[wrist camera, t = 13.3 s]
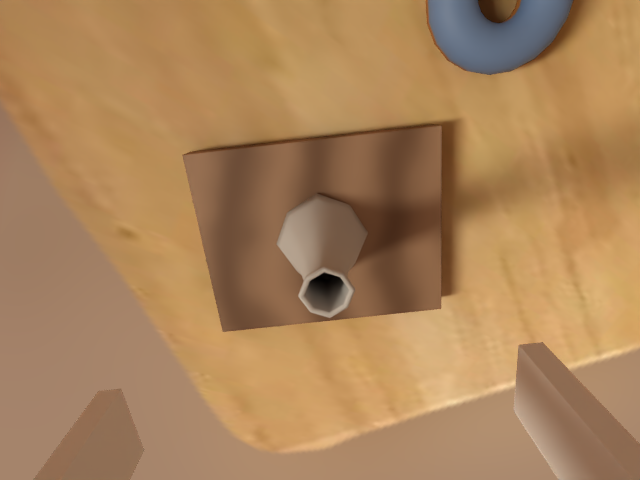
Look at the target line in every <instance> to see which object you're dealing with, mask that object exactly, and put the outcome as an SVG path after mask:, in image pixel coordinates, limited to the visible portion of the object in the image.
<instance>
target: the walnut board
mask: <svg viewBox="0 0 640 480" xmlns="http://www.w3.org/2000/svg"><path fill="white" fill-rule="evenodd" d="M183 160H184V164H185V168H186V173H187V177H188V181H189V186H190V190H191V195H192V199H193V203H194V208H195V212H196V216H197V221H198V225H199V230H200V234H201V238H202V243H203V247H204V251H205V256H206V260H207V265H208V269H209V273H210V278H211V282H212V286H213V291H214V295H215V300H216V304H217V308H218V313H219V317H220V321H221V326H222V330H223V332H227V331H236V330H245V329H255V328H264V327H274V326H283V325H292V324H302V323H311V322H321V321H330V320H340V319H349V318H358V317H368V316H377V315H387V314H396V313H405V312H415V311H424V310H434V309H441V160H442V126H440V125H434V124H433V125H424V126H415V127H407V128H398V129H389V130H380V131H371V132H362V133H354V134H345V135H336V136H327V137H318V138H310V139H301V140H292V141H283V142H274V143H265V144H257V145H248V146H239V147H230V148H221V149H213V150H204V151H195V152H189V153H187V154H184V155H183ZM316 193H317V194H320V195H323V196H325V197H328V198H331V199H334V200H337V201H340V202H343V203H346V204H348V205H350V206H351V207H352V209H353V211H354V212H355V214H356V215H357V217H358V218H359V220H360V221H361V223H362V224H363V226H364V227H365V229H366V231H367V232H368V234H367V237H366V239H365V241H364V244H363V246H362V248H361V251H360V253H359V256H358V258H357V260H356V263H355V264H354V266H353V267H352V268H351V269H350V270H349V272H348V275H347V277H348V279H349V280H350V282H351V283H352V285H353V286H354V287H355V292H354V294H353V297H352V299H351V301H350V304H349V306H348V308H347V309H345V310H343V311H341V312H340V313H338V314H336V315H335V316H333V317H331V318H328V317H324V316H321V315H318V314H314V313H311V312H310V311H309V310H308V309H307V307H306V306H305V305H304V303H303V302H302V301H301V299H300V298H299V297H298V295H299V292H300V289H301V287H302V284H303V281H304V280H303V278H302V275H301V274H300V273H298V272H297V271H296V269H295V268H294V267H293V265H292V264H291V263H290V261H289V260H288V259H287V257H286V256H285V255H284V253H283V252H282V251H281V249H280V248H279V247H278V245H277V241H278V238H279V235H280V232H281V229H282V226H283V223H284V220H285V217H286V214H287V212H289V211H290V210H292V209H293V208H295V207H297V206H298V205H300V204H301V203H303V202H304V201H306V200H307V199H309V198H310V197H312V196H313V195H315V194H316Z"/></svg>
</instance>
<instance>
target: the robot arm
mask: <svg viewBox="0 0 640 480" xmlns="http://www.w3.org/2000/svg"><path fill="white" fill-rule="evenodd" d="M514 412H515V414H516V415H517V417H518V418H519V420H520V421H521V423H522V425H523V426H524V428H525V429H526V431H527V432H528V434H529V435H530V437H531V438H532V440H533V441H534V443H535V445H536V446H537V448H538V449H539V451H540V452H541V454H542V455H543V457H544V458H545V460H546V461H547V463H548V464H549V466H550V468H551V469H552V471H553V472H554V474H555V475H556V477H557V478H558V480H640V444H639V443H638V442H637V441H636V440H635V439H634V437H633V436H632V435H631V434H630V433H629V432H628V431H627V430H626V429H625V428H624V427H623V426H622V425H621V424H620V423H619V422H618V421H617V420H616V419H615V418H614V417H613V416H612V415H611V413H609V411H608V410H607V409H606V408H605V407H604V406H603V405H602V404H601V403H600V402H599V401H598V400H597V399H596V398H595V397H594V396H593V395H592V394H591V393H590V392H589V390H588V389H587V388H586V387H585V386H584V385H583V384H582V383H581V382H580V381H579V380H578V379H577V378H576V377H575V376H574V375H573V374H572V373H571V372H570V371H569V370H568V368H567V367H566V366H565V365H564V364H563V363H562V362H561V361H560V360H559V359H558V358H557V357H556V356H555V355H554V354H553V353H552V352H551V351H550V350H549V349H548V348H547V346H546V345H545V344H544V343H543V342H541V343H532V344H523V345H519V348H518V361H517V374H516V387H515V400H514ZM143 451H144V448H143V446H142V443H141V441H140V438H139V435H138V432H137V430H136V427H135V424H134V422H133V419H132V416H131V414H130V411H129V408H128V406H127V403H126V401H125V398H124V395H123V392H122V390H121V389H114V390H105V391H98V392H97V394H96V395H95V397H94V398H93V399H92V401H91V402H90V403H89V405H88V406H87V408H86V409H85V410H84V412H83V413H82V414H81V416H80V417H79V418H78V420H77V421H76V423H75V424H74V425H73V427H72V428H71V429H70V430H69V432H68V433H67V435H66V436H65V438H64V439H63V440H62V441H61V443H60V444H59V445H58V447H57V448H56V450H55V451H54V452H53V454H52V455H51V456H50V458H49V459H48V460H47V462H46V463H45V465H44V466H43V467H42V469H41V470H40V471H39V473H38V474H37V475H36V477H35V478H34V480H130V479H131V476H132V474H133V472H134V470H135V468H136V466H137V464H138V462H139V460H140V458H141V456H142V454H143Z"/></svg>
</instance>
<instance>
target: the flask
mask: <svg viewBox="0 0 640 480" xmlns="http://www.w3.org/2000/svg"><path fill="white" fill-rule="evenodd" d="M367 234H368V232H367V231H366V229H365V227H364V226H363V224H362V223H361V221H360V220H359V218H358V217H357V215H356V214H355V212H354V211H353V209H352V207H351V206H350V205H348V204H346V203H343V202H340V201H337V200H334V199H331V198H328V197H325V196H323V195H320V194H317V193H316V194H315V195H313V196H312V197H310V198H309V199H307V200H306V201H304V202H303V203H301V204H300V205H298V206H297V207H295V208H293V209H292V210H290V211H289V212H287V214H286V217H285V220H284V223H283V226H282V229H281V232H280V235H279V238H278V241H277V245H278V247H279V248H280V249H281V251H282V252H283V253H284V255H285V256H286V257H287V259H288V260H289V261H290V263H291V264H292V265H293V267H294V268H295V269H296V271H297V272H298V273H300V274H301V275H302V278H303V280H304V281H303V284H302V287H301V289H300V292H299V295H298V297H299V298H300V299H301V301H302V302H303V303H304V305H305V306H306V307H307V309H308V310H309V311H310V312H311V313H314V314H318V315H321V316H324V317H328V318H331V317H333V316H335V315H336V314H338V313H340V312H341V311H343V310H345V309H347V308H348V306H349V304H350V301H351V299H352V297H353V294H354V292H355V287H354V286H353V285H352V283H351V282H350V280H349V279H348V277H347V275H348V272H349V270H350V269H351V268H352V267H353V266H354V264H355V263H356V260H357V258H358V256H359V253H360V251H361V248H362V246H363V244H364V241H365V239H366V237H367Z"/></svg>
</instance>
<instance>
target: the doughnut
mask: <svg viewBox="0 0 640 480" xmlns="http://www.w3.org/2000/svg"><path fill="white" fill-rule="evenodd" d="M572 3H573V0H517V3H516V7H515V9H514V11H513V12H512V14H511V16H510V17H509V18H508V19H507V20H505V21H503V22H501V23H494V22H491V21H490V20H488V19H486V18H485V16H484V15H483V14H482V12H481V10H480V7H479V4H478V0H426V14H427V24H428V27H429V30H430V33H431V35H432V38H433V41H434V44H435V45H436V46H437V48H438V49H439V50H440V51H441V53H442V54H443V55H444V56H445V58H446V59H447V60H448V61H450V62H451V63H453V64H455V65H456V66H458V67H460V68H461V69H463V70H465V71H470V72H476V73H481V74H487V75H491V74H497V73H503V72H509V71H512V70H514V69H516V68H518V67H520V66H521V65H523V64H525V63H527V62H529V61H531V60H533V59H535V58H536V57H537V56H538V55H539V54H540V53H541V52H542V51H543V50H544V49H545V48H546V47H548V46H549V45H550V44H551V43H552V42H553V40H554V39H555V37H556V35H557V34H558V32H559V31H560V29H561V28H562V26H563V24H564V23H565V21H566V20H567V18H568V15H569V12H570V9H571V6H572Z"/></svg>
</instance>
